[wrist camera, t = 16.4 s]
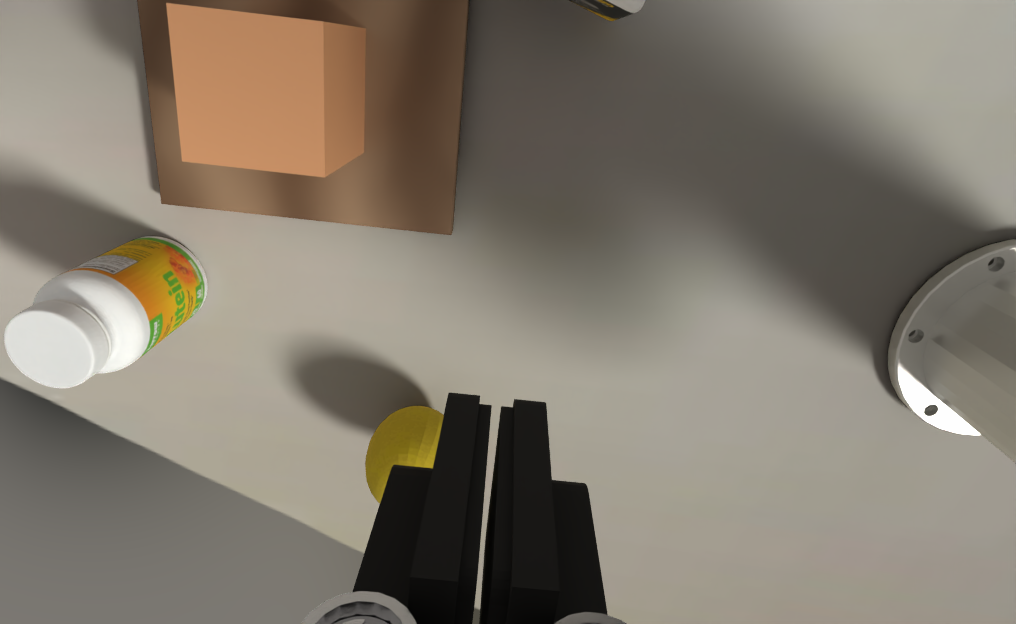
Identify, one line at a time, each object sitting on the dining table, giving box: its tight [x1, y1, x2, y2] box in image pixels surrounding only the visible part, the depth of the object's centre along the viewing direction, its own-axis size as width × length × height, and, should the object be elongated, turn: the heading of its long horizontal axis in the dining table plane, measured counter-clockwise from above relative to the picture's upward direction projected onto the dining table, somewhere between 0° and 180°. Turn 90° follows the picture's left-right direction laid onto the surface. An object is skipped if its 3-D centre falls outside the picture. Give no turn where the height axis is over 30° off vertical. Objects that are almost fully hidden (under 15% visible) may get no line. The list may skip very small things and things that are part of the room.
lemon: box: [365, 406, 444, 503], centre depth 36 cm, size 6×6×8 cm
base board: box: [137, 0, 470, 235], centre depth 31 cm, size 16×14×1 cm
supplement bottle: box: [4, 236, 208, 388], centre depth 32 cm, size 5×5×10 cm
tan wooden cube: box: [166, 3, 366, 177], centre depth 28 cm, size 6×6×7 cm
